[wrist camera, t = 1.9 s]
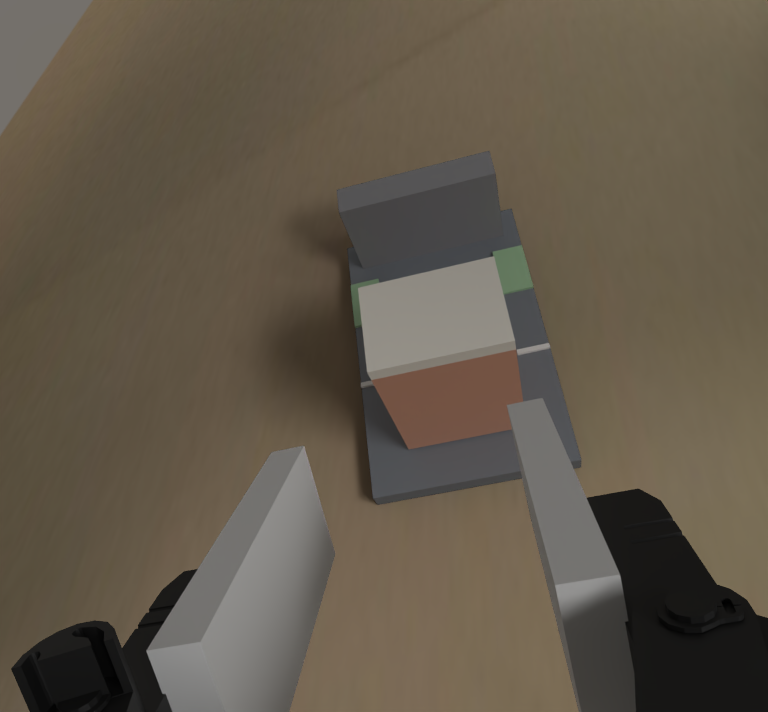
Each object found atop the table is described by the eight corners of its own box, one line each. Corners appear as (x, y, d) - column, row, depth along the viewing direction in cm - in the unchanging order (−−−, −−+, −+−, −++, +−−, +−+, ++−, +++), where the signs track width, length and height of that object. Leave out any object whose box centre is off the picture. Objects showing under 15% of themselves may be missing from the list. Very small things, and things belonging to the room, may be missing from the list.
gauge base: (512, 219, 48) (504, 144, 42) (581, 467, 39) (583, 415, 33) (351, 258, 50) (321, 191, 44) (377, 504, 40) (343, 462, 34)
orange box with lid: (509, 353, 42) (494, 256, 33) (526, 426, 39) (515, 340, 31) (398, 376, 43) (357, 287, 34) (408, 449, 40) (367, 372, 32)
